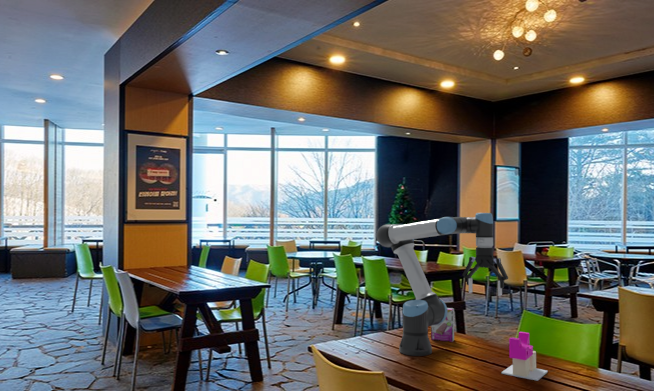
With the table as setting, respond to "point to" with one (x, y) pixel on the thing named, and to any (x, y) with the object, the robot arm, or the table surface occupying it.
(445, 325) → the candy bar box
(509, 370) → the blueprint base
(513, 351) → the toy block
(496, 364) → the table surface
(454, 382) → the table surface
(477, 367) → the table surface
